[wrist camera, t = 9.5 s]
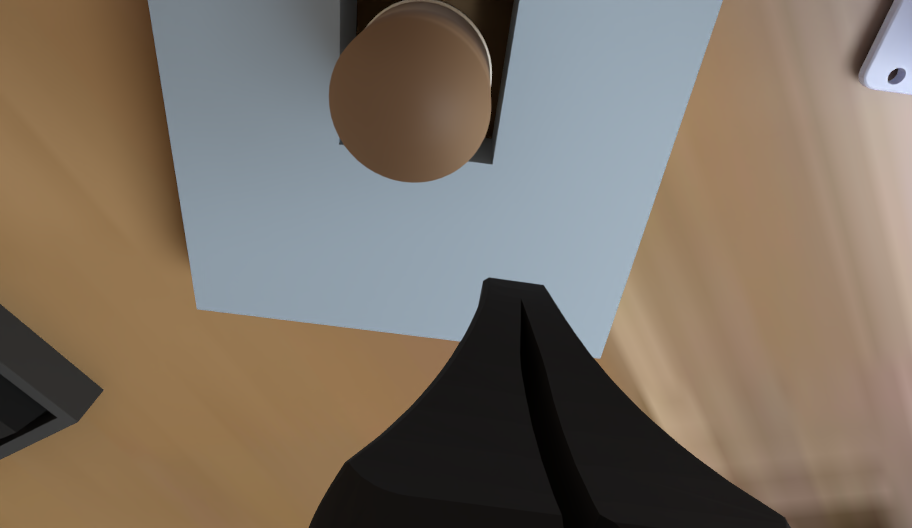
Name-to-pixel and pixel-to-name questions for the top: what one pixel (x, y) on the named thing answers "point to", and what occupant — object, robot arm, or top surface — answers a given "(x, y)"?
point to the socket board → (425, 203)
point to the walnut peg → (413, 92)
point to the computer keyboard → (36, 387)
